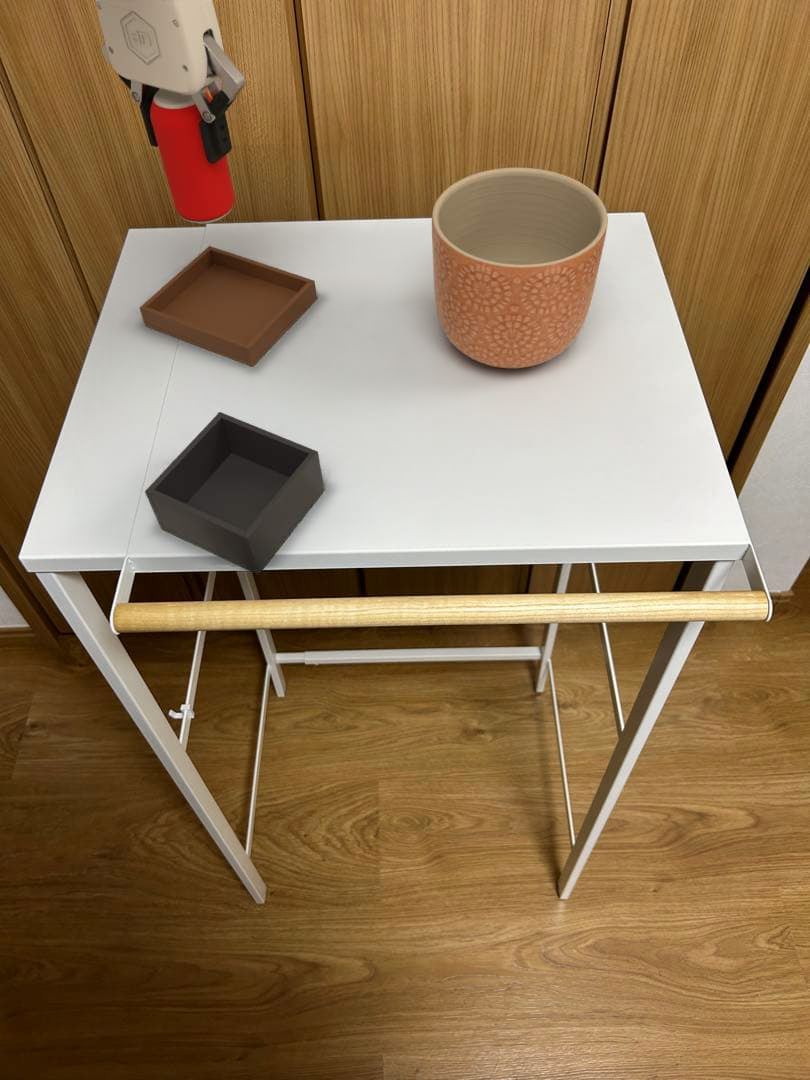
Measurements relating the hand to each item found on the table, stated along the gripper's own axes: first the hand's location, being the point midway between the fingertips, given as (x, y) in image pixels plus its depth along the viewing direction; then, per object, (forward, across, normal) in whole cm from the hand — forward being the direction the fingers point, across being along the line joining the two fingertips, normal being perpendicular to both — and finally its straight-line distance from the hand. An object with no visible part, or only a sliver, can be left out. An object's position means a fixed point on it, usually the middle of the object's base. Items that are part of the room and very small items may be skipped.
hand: (191, 146), depth 81 cm
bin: (+20, +18, -23) cm, 36 cm away
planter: (+20, +30, +11) cm, 38 cm away
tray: (+20, 0, 0) cm, 20 cm away
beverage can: (+7, 0, 0) cm, 7 cm away
